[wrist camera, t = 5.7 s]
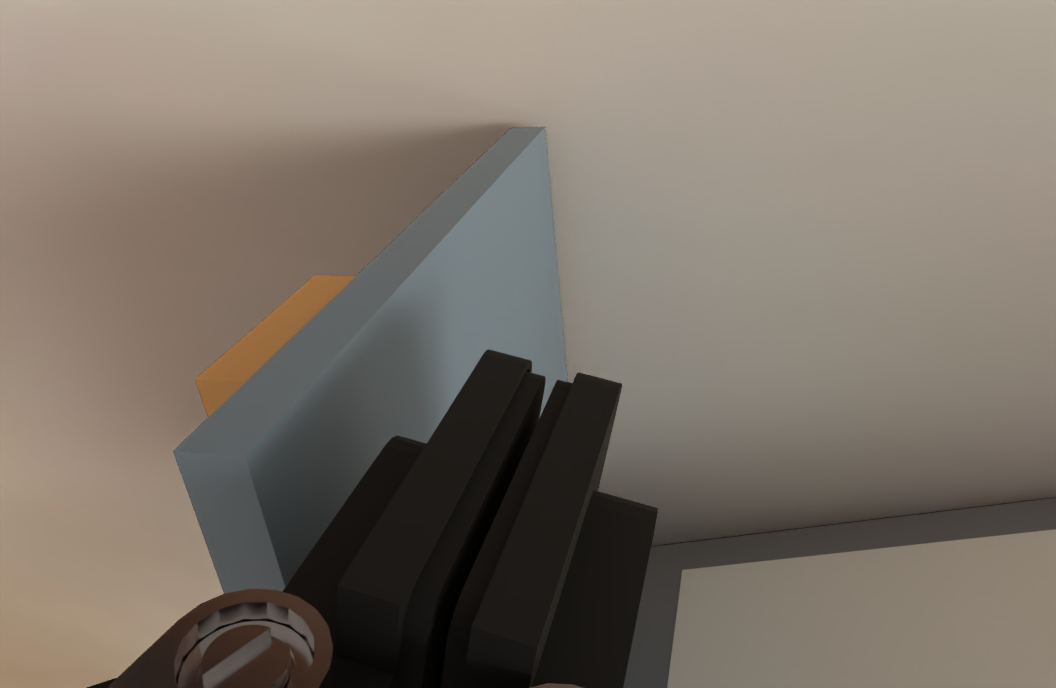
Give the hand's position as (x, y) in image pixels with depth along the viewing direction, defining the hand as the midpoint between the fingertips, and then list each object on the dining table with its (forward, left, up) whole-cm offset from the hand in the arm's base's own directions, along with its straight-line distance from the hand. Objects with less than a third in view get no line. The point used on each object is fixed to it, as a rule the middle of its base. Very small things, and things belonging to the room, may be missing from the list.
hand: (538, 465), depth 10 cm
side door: (+4, +4, -10) cm, 11 cm away
